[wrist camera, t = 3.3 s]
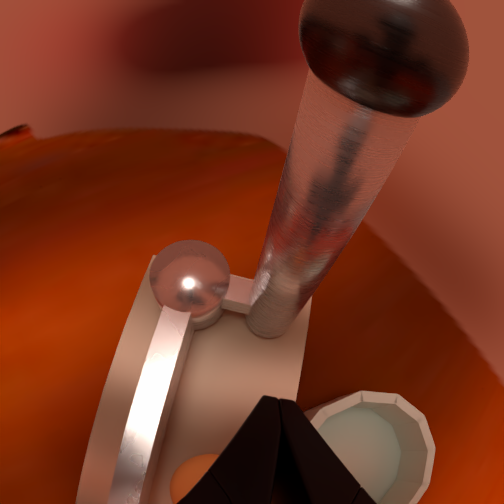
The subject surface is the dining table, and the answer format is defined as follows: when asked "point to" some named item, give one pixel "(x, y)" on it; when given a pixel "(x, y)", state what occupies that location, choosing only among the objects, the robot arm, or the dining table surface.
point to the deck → (190, 391)
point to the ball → (189, 475)
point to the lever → (301, 193)
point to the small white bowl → (379, 443)
